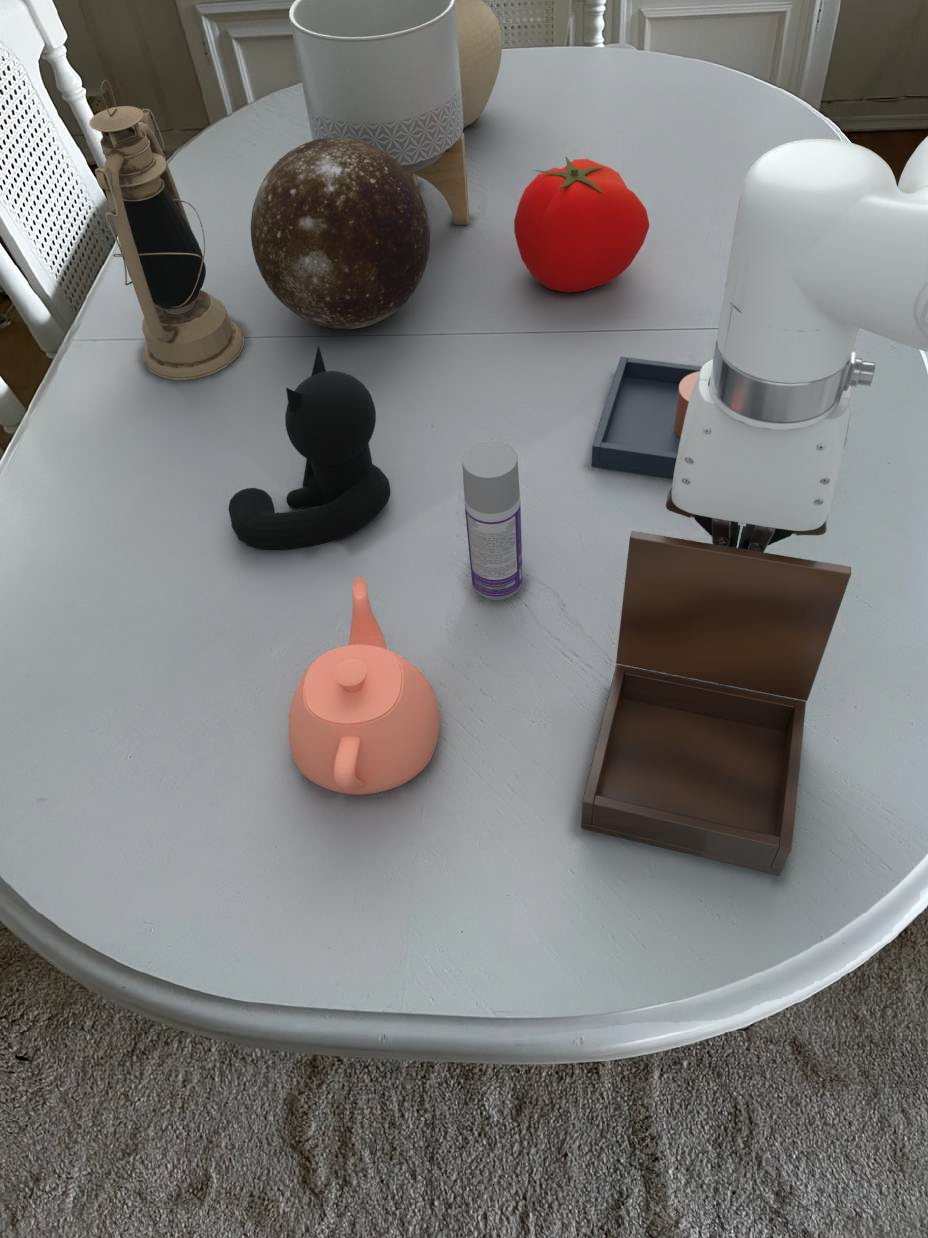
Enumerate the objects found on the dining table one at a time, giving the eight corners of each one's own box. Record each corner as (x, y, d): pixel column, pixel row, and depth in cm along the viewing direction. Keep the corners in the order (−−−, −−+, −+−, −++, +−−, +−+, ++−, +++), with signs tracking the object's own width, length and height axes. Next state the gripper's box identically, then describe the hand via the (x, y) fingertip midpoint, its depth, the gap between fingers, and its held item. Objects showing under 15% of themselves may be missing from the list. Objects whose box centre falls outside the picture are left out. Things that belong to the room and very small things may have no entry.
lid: (851, 574, 63) (851, 566, 64) (629, 537, 67) (631, 530, 67) (807, 701, 73) (808, 693, 74) (615, 664, 77) (617, 656, 77)
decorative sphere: (348, 387, 108) (315, 218, 93) (239, 321, 118) (192, 157, 102) (472, 304, 116) (460, 136, 101) (360, 249, 126) (334, 87, 110)
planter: (457, 261, 122) (439, 37, 102) (313, 257, 125) (268, 38, 105) (479, 185, 134) (467, -30, 114) (347, 183, 137) (312, -28, 116)
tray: (804, 401, 102) (810, 379, 99) (792, 497, 93) (798, 475, 91) (619, 377, 106) (620, 356, 104) (591, 467, 98) (592, 445, 95)
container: (488, 555, 91) (479, 432, 79) (531, 572, 89) (529, 449, 78) (462, 588, 89) (449, 467, 77) (507, 607, 87) (500, 486, 75)
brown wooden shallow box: (779, 875, 70) (791, 850, 67) (580, 828, 73) (582, 801, 70) (795, 730, 77) (806, 701, 74) (613, 693, 81) (616, 663, 77)
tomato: (502, 300, 116) (497, 190, 106) (534, 239, 124) (533, 131, 114) (630, 318, 113) (639, 205, 102) (655, 254, 120) (666, 143, 110)
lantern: (168, 309, 120) (76, 48, 97) (259, 313, 118) (188, 47, 95) (124, 384, 111) (11, 116, 88) (222, 389, 110) (134, 117, 86)
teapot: (282, 830, 75) (252, 768, 67) (309, 643, 86) (287, 573, 79) (438, 828, 74) (426, 766, 67) (445, 640, 85) (436, 569, 78)
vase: (457, 86, 154) (440, -148, 130) (527, 119, 145) (523, -126, 122) (372, 123, 148) (339, -116, 124) (440, 160, 139) (419, -90, 116)
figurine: (304, 441, 103) (272, 320, 91) (417, 477, 98) (399, 354, 87) (214, 542, 95) (166, 422, 83) (333, 587, 90) (301, 467, 78)
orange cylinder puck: (732, 413, 100) (740, 374, 96) (725, 449, 97) (733, 410, 93) (678, 406, 101) (683, 367, 97) (669, 441, 98) (674, 402, 94)
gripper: (914, 347, 57) (841, 555, 72) (661, 317, 61) (639, 521, 75) (911, 429, 53) (833, 633, 67) (638, 392, 56) (620, 594, 71)
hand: (731, 574), depth 71 cm, fingers closed
